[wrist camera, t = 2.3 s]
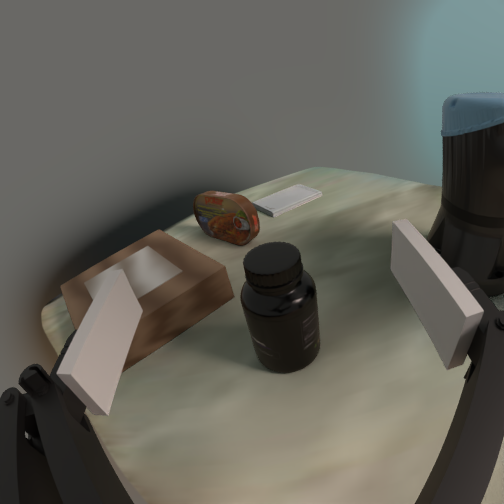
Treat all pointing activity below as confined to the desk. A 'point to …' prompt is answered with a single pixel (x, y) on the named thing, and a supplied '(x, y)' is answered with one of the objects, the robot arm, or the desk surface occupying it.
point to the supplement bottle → (280, 307)
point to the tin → (226, 216)
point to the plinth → (156, 289)
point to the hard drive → (286, 199)
